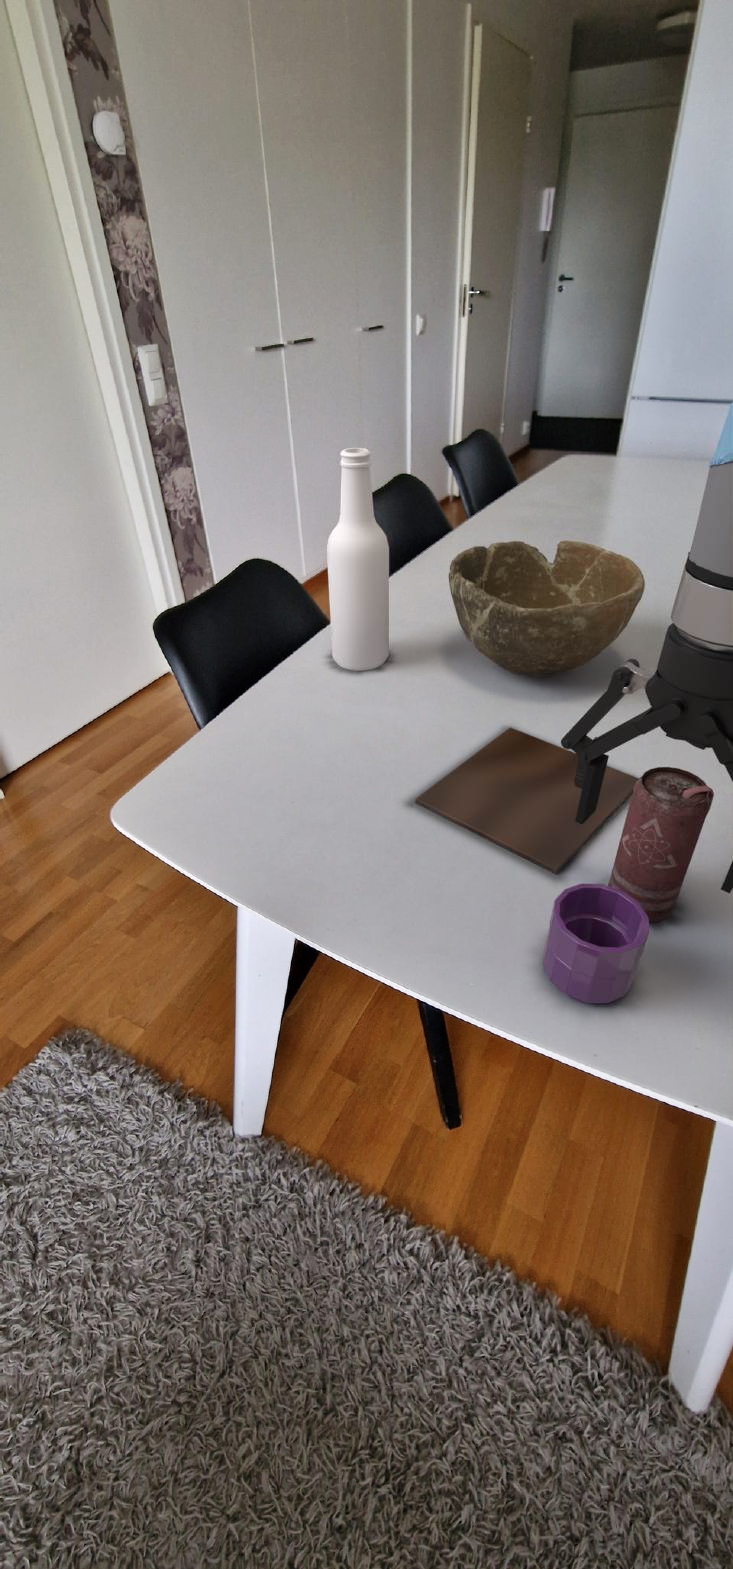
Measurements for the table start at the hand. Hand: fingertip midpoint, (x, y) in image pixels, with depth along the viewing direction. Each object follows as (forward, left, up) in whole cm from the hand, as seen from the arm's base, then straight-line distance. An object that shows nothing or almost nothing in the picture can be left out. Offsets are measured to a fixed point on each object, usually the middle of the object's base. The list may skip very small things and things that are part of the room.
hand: (653, 847), depth 64 cm
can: (0, 0, -7) cm, 7 cm away
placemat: (+17, -8, -7) cm, 20 cm away
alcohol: (+55, -21, -7) cm, 59 cm away
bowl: (+34, -37, -7) cm, 50 cm away
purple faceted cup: (0, +11, -7) cm, 13 cm away
